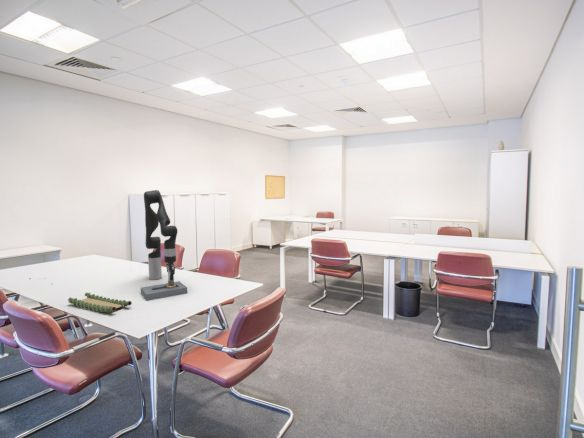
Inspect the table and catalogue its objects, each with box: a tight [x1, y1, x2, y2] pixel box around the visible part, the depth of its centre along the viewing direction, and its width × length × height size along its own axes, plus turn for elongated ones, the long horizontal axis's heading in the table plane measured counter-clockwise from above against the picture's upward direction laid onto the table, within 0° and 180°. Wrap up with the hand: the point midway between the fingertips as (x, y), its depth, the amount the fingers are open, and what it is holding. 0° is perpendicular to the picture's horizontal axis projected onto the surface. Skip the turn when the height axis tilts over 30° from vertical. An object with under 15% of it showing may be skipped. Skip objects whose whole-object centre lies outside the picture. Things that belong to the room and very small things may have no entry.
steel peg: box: [166, 270, 176, 289], centre depth 225 cm, size 6×6×12 cm
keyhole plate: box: [140, 280, 188, 301], centre depth 223 cm, size 18×26×4 cm
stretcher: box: [67, 292, 132, 314], centre depth 198 cm, size 41×14×5 cm, turn 65°
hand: (170, 279), depth 225 cm, fingers closed on steel peg, 3 cm apart
